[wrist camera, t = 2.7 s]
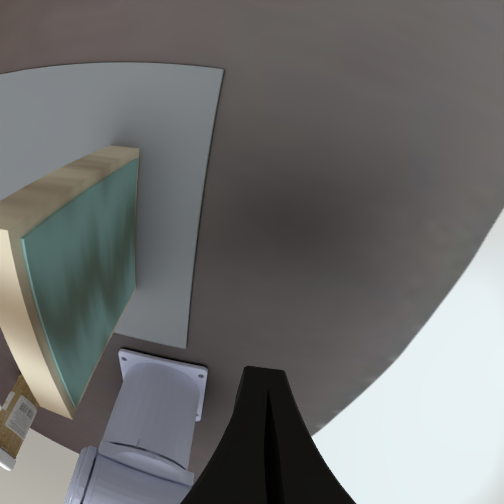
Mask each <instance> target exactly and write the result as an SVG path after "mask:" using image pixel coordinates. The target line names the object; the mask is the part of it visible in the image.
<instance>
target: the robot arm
mask: <svg viewBox="0 0 504 504" xmlns="http://www.w3.org/2000/svg"><path fill="white" fill-rule="evenodd" d="M119 360H120V366H121V371H122V376H123V384H122V386H121V389H120V391H119V394H118V397H117V399H116V402H115V405H114V408H113V410H112V413H111V416H110V419H109V422H108V424H107V427H106V430H105V433H104V436H103V439H102V441H101V443H100V445H99V447H98V449H97V451H96V448H95V447H93V446H88V448H87V447H86V448H83V449H82V450H81V453H80V455H79V458H78V461H77V464H76V467H75V470H74V473H73V476H72V479H71V482H70V485H69V488H68V492H67V495H66V498H65V502H64V504H356V503H355V502H354V500H353V499H352V498H351V497H350V496H349V494H348V493H347V492H346V491H345V490H344V488H343V487H342V486H341V485H340V483H339V482H338V480H337V479H336V478H335V476H334V475H333V473H332V472H331V470H330V469H329V467H328V466H327V464H326V463H325V461H324V459H323V458H322V456H321V454H320V453H319V451H318V449H317V448H316V445H315V443H314V442H313V440H312V438H311V436H310V434H309V432H308V430H307V428H306V425H305V423H304V421H303V419H302V416H301V414H300V412H299V409H298V407H297V405H296V402H295V399H294V397H293V394H292V391H291V389H290V386H289V383H288V379H287V376H286V373H285V372H284V370H277V369H269V368H261V367H254V366H246V367H244V370H243V374H242V377H241V381H240V384H239V388H238V391H237V395H236V400H235V406H234V411H233V415H232V417H231V420H230V422H229V424H228V426H227V428H226V430H225V433H224V435H223V437H222V439H221V441H220V443H219V445H218V447H217V448H216V450H215V452H214V454H213V456H212V457H211V459H210V461H209V462H208V464H207V466H206V467H205V469H204V471H203V472H202V474H201V475H200V477H199V478H198V480H197V481H196V483H193V479H194V473H192V472H189V471H187V469H188V463H189V456H190V450H191V444H192V438H193V432H194V426H195V421H200V420H201V414H202V407H203V400H204V393H205V386H206V380H207V373H208V370H207V368H205V367H203V366H198V365H193V364H188V363H183V362H178V361H173V360H168V359H164V358H159V357H155V356H151V355H146V354H142V353H138V352H134V351H130V350H126V349H120V350H119Z"/></svg>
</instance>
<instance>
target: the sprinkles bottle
mask: <svg viewBox="0 0 504 504" xmlns="http://www.w3.org/2000/svg"><path fill="white" fill-rule="evenodd" d="M39 406H40V405H39V403H38V402H37V400H36V398H35V397H34V395H33V393H32V391H31V390H30V388H29V386H28V384H27V382H26V380H25V378H24V377H23V375H22V374H20V375H19V377H18V380H17V382H16V384H15V385H14V387H13V389H12V391H11V392H10V394H9V395H8V397H7V399H6V401H5V403H4V405H3V407H2V409H1V411H0V466H1V467H3V468H5V469H7V470H9V471H12V469H13V467H14V465H15V462H16V460H15V459H16V456H17V454H18V451H19V449H20V447H21V445H22V442H23V441H24V439H25V436H26V434H27V432H28V430H29V428H30V426H31V424H32V421H33V419H34V417H35V415H36V413H37V410H38V408H39Z"/></svg>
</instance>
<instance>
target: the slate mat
mask: <svg viewBox="0 0 504 504" xmlns="http://www.w3.org/2000/svg"><path fill="white" fill-rule="evenodd" d="M223 74H224V69H217V68H209V67H200V66H190V65H178V64H163V63H133V62H116V63H86V64H72V65H60V66H51V67H43V68H35V69H28V70H22V71H16V72H10V73H5V74H0V201H1V200H3V199H4V198H6V197H8V196H9V195H11V194H13V193H15V192H16V191H18V190H20V189H21V188H23V187H25V186H27V185H29V184H30V183H32V182H34V181H36V180H38V179H40V178H41V177H43V176H45V175H47V174H49V173H51V172H53V171H55V170H57V169H59V168H61V167H63V166H65V165H67V164H69V163H71V162H73V161H75V160H77V159H80V158H82V157H84V156H86V155H88V154H91V153H93V152H95V151H97V150H100V149H102V148H104V147H107V146H109V145H113V146H123V147H133V148H140V153H139V165H138V179H137V196H136V222H135V283H136V291H135V292H134V294H133V296H132V298H131V300H130V302H129V303H128V305H127V307H126V309H125V311H124V313H123V315H122V317H121V318H120V320H119V322H118V324H117V326H116V328H115V330H114V332H115V333H118V334H122V335H126V336H130V337H134V338H138V339H142V340H147V341H151V342H155V343H160V344H164V345H169V346H173V347H178V348H183V349H186V346H187V335H188V323H189V312H190V301H191V290H192V281H193V271H194V262H195V253H196V245H197V236H198V228H199V221H200V213H201V206H202V198H203V191H204V184H205V178H206V171H207V164H208V158H209V152H210V146H211V140H212V134H213V128H214V122H215V116H216V111H217V105H218V100H219V95H220V89H221V84H222V79H223Z"/></svg>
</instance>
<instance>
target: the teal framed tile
mask: <svg viewBox="0 0 504 504" xmlns="http://www.w3.org/2000/svg"><path fill="white" fill-rule="evenodd" d="M139 153H140V148H133V147H123V146H113V145H109V146H107V147H104V148H102V149H100V150H97V151H95V152H93V153H91V154H88V155H86V156H84V157H82V158H80V159H77V160H75V161H73V162H71V163H69V164H67V165H65V166H63V167H61V168H59V169H57V170H55V171H53V172H51V173H49V174H47V175H45V176H43V177H41V178H40V179H38V180H36V181H34V182H32V183H30V184H29V185H27V186H25V187H23V188H21V189H20V190H18V191H16V192H15V193H13V194H11V195H9V196H8V197H6V198H4V199H3V200H1V201H0V327H1V329H2V332H3V334H4V336H5V339H6V341H7V343H8V346H9V348H10V350H11V352H12V354H13V356H14V359H15V361H16V363H17V365H18V367H19V369H20V371H21V373H22V375H23V377H24V378H25V380H26V382H27V384H28V386H29V388H30V390H31V391H32V393H33V395H34V397H35V398H36V400H37V402H38V403H39V405H40V406H41V407H43V408H46V409H48V410H50V411H52V412H55V413H57V414H60V415H62V416H65V417H67V418H70V419H72V420H73V418H74V415H75V413H76V411H77V408H78V406H79V404H80V401H81V399H82V397H83V395H84V392H85V390H86V388H87V386H88V384H89V381H90V379H91V377H92V375H93V373H94V371H95V369H96V366H97V364H98V362H99V360H100V358H101V356H102V354H103V352H104V350H105V348H106V346H107V344H108V342H109V340H110V338H111V336H112V334H113V332H114V330H115V328H116V326H117V324H118V322H119V320H120V318H121V317H122V315H123V313H124V311H125V309H126V307H127V305H128V303H129V302H130V300H131V298H132V296H133V294H134V292H135V291H136V283H135V222H136V196H137V179H138V165H139Z"/></svg>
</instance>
